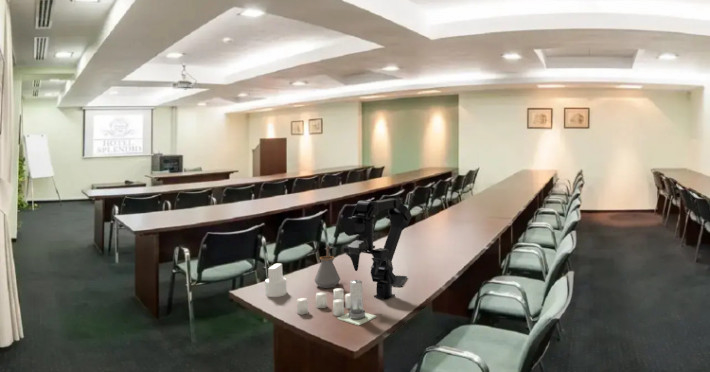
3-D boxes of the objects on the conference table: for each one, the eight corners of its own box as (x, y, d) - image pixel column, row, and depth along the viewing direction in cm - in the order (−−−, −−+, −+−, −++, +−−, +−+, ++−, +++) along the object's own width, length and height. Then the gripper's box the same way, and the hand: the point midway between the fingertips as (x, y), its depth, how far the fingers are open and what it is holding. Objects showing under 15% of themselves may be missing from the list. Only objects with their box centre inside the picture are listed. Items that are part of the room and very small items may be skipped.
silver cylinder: (350, 313, 169) (349, 279, 168) (366, 314, 168) (365, 279, 167) (347, 319, 163) (346, 283, 162) (363, 320, 162) (362, 284, 161)
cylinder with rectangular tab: (282, 297, 191) (281, 269, 190) (262, 296, 193) (261, 268, 192) (289, 290, 200) (288, 263, 198) (270, 289, 201) (269, 263, 200)
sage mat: (355, 311, 173) (355, 309, 173) (376, 317, 166) (376, 315, 166) (337, 319, 165) (337, 317, 165) (358, 325, 159) (358, 324, 159)
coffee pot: (340, 289, 200) (339, 255, 199) (313, 289, 200) (312, 256, 199) (341, 275, 221) (340, 245, 220) (317, 276, 221) (316, 245, 220)
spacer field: (333, 298, 188) (332, 286, 188) (363, 306, 178) (362, 293, 177) (295, 313, 172) (294, 300, 172) (325, 322, 162) (325, 309, 162)
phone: (384, 284, 203) (391, 275, 217) (384, 287, 203) (391, 277, 217) (401, 285, 201) (407, 276, 215) (401, 288, 201) (407, 278, 215)
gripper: (334, 232, 177) (333, 272, 178) (372, 238, 165) (372, 280, 166) (352, 229, 185) (352, 267, 186) (390, 234, 174) (389, 275, 174)
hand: (365, 272), depth 178 cm, fingers open, 9 cm apart
